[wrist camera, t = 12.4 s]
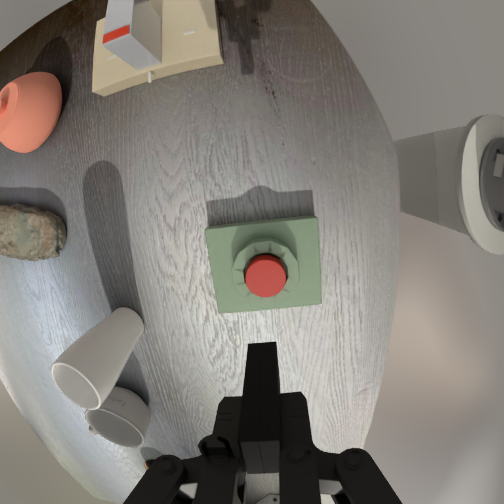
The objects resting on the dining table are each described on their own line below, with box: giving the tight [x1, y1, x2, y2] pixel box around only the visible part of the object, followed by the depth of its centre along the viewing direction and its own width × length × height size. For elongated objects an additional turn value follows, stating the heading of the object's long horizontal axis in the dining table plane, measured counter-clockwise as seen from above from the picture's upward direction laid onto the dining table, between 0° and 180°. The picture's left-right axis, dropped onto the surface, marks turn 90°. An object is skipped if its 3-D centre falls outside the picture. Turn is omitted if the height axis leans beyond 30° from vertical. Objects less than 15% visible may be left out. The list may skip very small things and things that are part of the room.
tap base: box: [92, 0, 224, 97], centre depth 24 cm, size 16×14×3 cm
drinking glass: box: [51, 307, 144, 410], centre depth 28 cm, size 7×7×15 cm
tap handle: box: [102, 0, 161, 70], centre depth 19 cm, size 7×3×8 cm, turn 6°
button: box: [245, 255, 286, 297], centre depth 28 cm, size 4×4×2 cm
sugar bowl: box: [0, 72, 62, 153], centre depth 23 cm, size 12×14×10 cm
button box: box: [205, 215, 322, 313], centre depth 30 cm, size 12×10×4 cm
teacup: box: [85, 387, 150, 448], centre depth 37 cm, size 14×11×8 cm
